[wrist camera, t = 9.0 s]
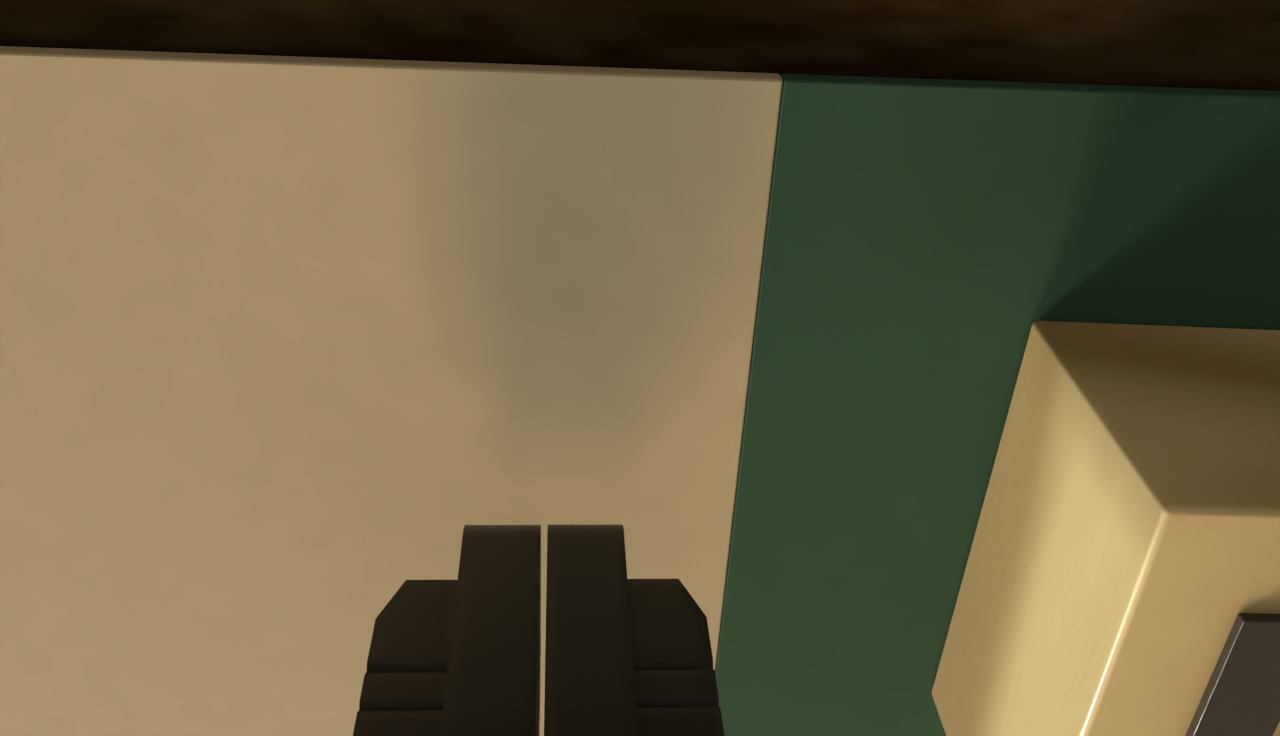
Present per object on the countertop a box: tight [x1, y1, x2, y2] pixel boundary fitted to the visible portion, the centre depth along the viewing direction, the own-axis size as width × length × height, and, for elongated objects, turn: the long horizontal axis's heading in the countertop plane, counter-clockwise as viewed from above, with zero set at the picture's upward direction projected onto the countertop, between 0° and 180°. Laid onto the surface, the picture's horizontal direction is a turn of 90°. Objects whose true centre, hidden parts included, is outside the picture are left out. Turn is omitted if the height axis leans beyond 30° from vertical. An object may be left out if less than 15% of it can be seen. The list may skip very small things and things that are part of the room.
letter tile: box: [932, 320, 1280, 736], centre depth 12 cm, size 5×5×3 cm
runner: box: [0, 46, 1280, 736], centre depth 12 cm, size 22×9×1 cm, turn 87°
